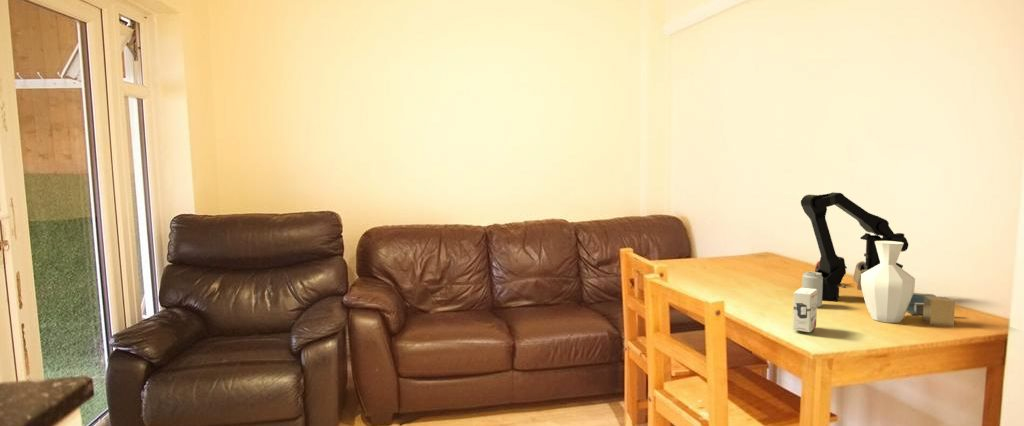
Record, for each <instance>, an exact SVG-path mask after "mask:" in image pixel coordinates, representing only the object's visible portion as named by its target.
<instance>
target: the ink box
mask: <svg viewBox="0 0 1024 426" xmlns="http://www.w3.org/2000/svg"><path fill="white" fill-rule="evenodd" d="M792 306H793V309H792V310H793V312H792V315H793V316H792V330H794V331H799V332H804V333H805V332H806V333H811V332H812V331H813V330H815V328H816V327H817V310H818V308H817V289H809V288H802V287H800V288H798V289H797V290H795V291H794V292H793V305H792Z"/></svg>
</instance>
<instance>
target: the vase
mask: <svg viewBox="0 0 1024 426" xmlns="http://www.w3.org/2000/svg"><path fill="white" fill-rule="evenodd" d="M903 244H904V243H902V242H896V241H875V245H876V248H877V252H878V256H879V259H880V264H878V265H876V266H875V267H873V268H871V269H869V270H868V271H866V272H864V273H862V274H861V288H862V290H861V292H862V296H863V298H864V302H865V307H866V310H867V311H868V313H869V315H870V316H871V318H872V320H874V321H876V322H881V323H886V324H899V323H901V322H902V320H903V319H904V318H905V315H906V313H907V308H908V305H909V303H910V301H911V298H912V296H913V293H914V291H915V287H916V278H915V277H914V276H913V275H912V274H909V273H908V272H907V271H905V269H903V267H902V268H900V267H899V266H897V265H896V263H898V260H899V257H900V253H901V249H902V247H903Z"/></svg>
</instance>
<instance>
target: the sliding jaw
mask: <svg viewBox="0 0 1024 426" xmlns="http://www.w3.org/2000/svg"><path fill="white" fill-rule="evenodd" d="M924 296H936V295H935V294H933V293H918V292H917V293H916V292H915V293H914V292H913V296H912V298H911V301H910V303H909V304H914V303H924Z"/></svg>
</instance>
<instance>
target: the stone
mask: <svg viewBox="0 0 1024 426" xmlns="http://www.w3.org/2000/svg"><path fill="white" fill-rule="evenodd" d="M860 263H866V261H863V260H861V261H858V262H857V263H856V265H855V267H854V268H855V269H854V273H853V278H852V279H853V281H854V282H855V283H856V284H857V287H856V290H858V291H862V288H861V274H862V273H864V272H865V270H862V271H860V270H858V265H859V264H860Z"/></svg>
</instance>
